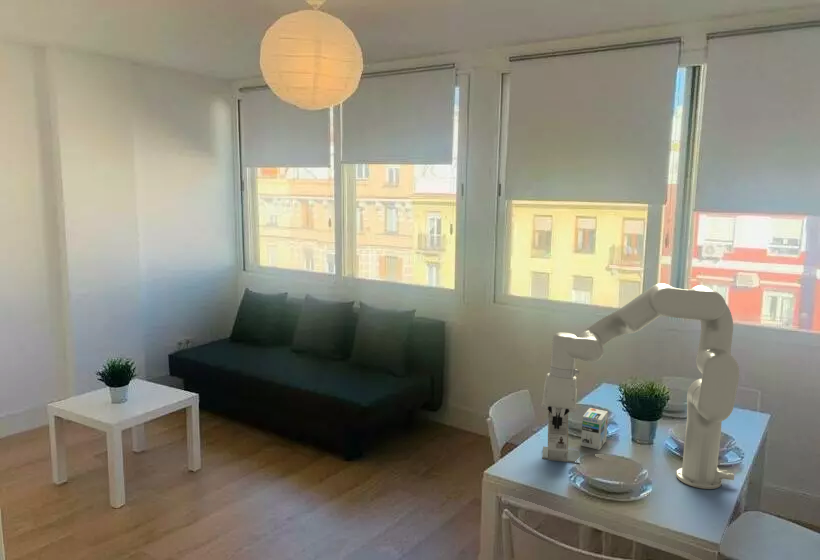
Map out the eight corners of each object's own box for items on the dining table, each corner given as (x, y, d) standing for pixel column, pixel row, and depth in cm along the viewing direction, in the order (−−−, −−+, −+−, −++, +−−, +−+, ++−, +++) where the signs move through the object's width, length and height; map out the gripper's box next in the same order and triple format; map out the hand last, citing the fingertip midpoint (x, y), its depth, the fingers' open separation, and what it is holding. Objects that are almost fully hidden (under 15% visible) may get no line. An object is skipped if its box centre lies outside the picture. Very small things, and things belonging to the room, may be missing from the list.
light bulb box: (599, 450, 207) (602, 420, 205) (580, 446, 210) (582, 416, 208) (606, 440, 216) (608, 410, 214) (587, 435, 219) (589, 407, 218)
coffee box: (547, 460, 198) (548, 415, 207) (567, 462, 196) (567, 416, 206) (547, 449, 191) (548, 402, 200) (568, 451, 189) (568, 404, 199)
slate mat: (579, 452, 204) (579, 450, 204) (580, 463, 196) (580, 462, 196) (543, 448, 207) (543, 446, 207) (542, 459, 199) (542, 457, 199)
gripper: (586, 371, 193) (580, 426, 196) (538, 365, 196) (533, 419, 199) (587, 378, 186) (581, 435, 188) (537, 372, 189) (532, 428, 192)
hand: (556, 427), depth 194 cm, fingers closed
